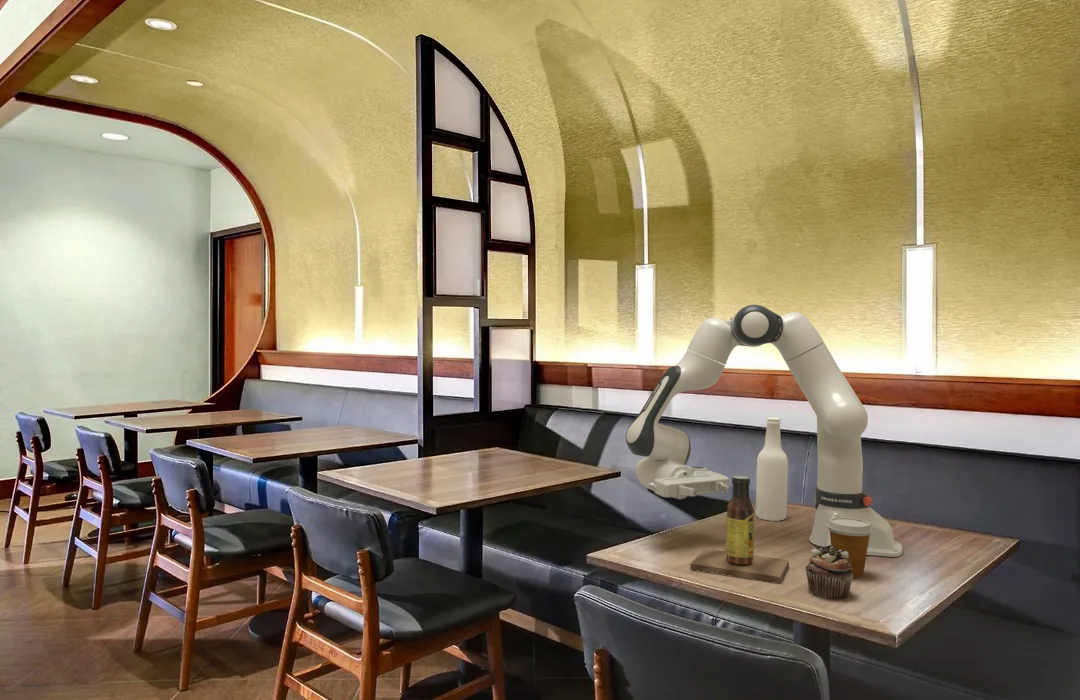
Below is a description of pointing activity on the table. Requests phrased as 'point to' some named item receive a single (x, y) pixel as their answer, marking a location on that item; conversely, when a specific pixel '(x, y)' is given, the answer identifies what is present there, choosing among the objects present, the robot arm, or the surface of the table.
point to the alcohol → (772, 475)
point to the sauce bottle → (740, 524)
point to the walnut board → (741, 566)
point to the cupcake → (829, 573)
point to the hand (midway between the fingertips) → (710, 491)
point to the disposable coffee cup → (851, 540)
